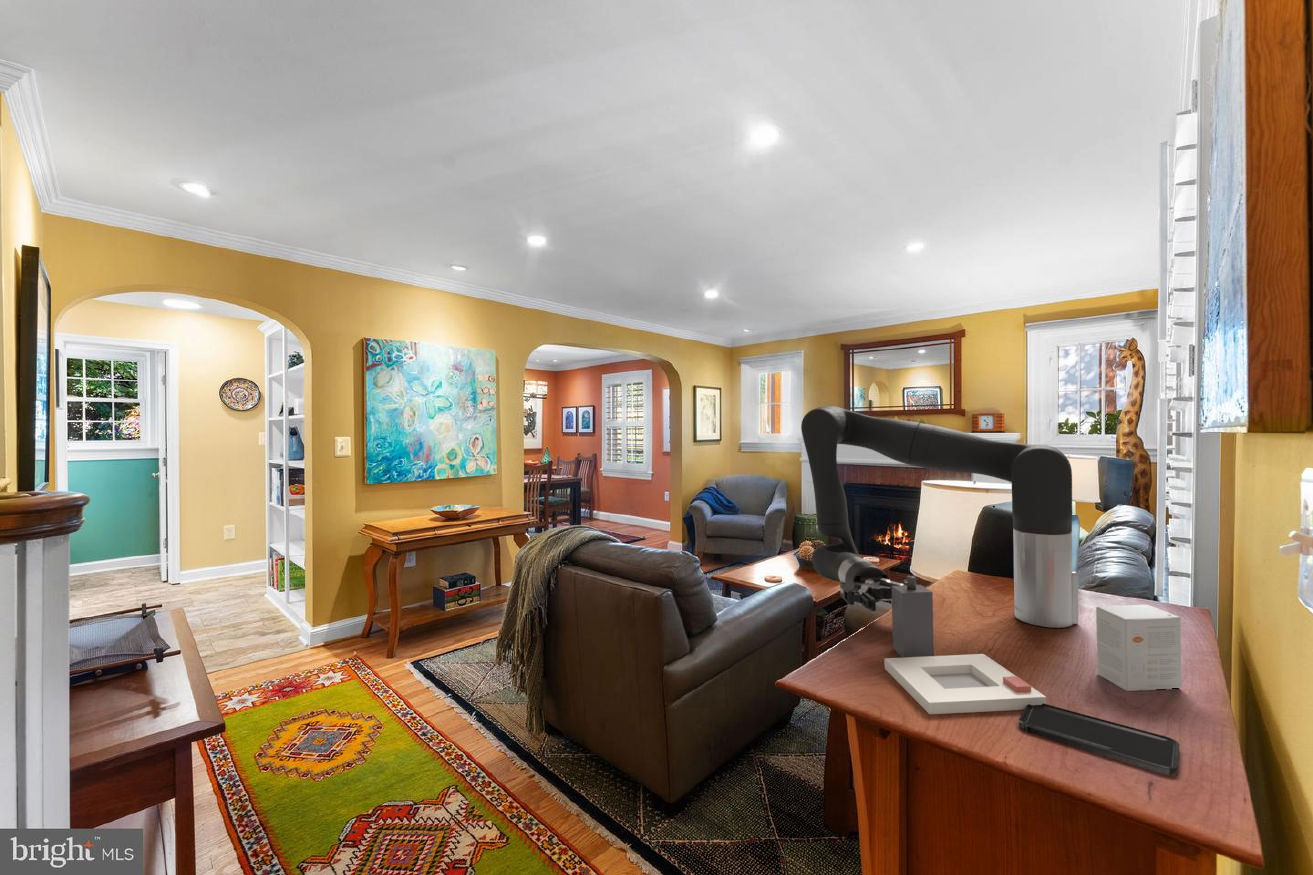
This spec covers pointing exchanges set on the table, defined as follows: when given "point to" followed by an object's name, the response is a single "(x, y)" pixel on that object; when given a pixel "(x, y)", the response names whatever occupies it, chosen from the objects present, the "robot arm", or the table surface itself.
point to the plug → (912, 620)
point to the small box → (1138, 647)
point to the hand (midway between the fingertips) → (897, 604)
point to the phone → (1103, 737)
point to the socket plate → (962, 684)
